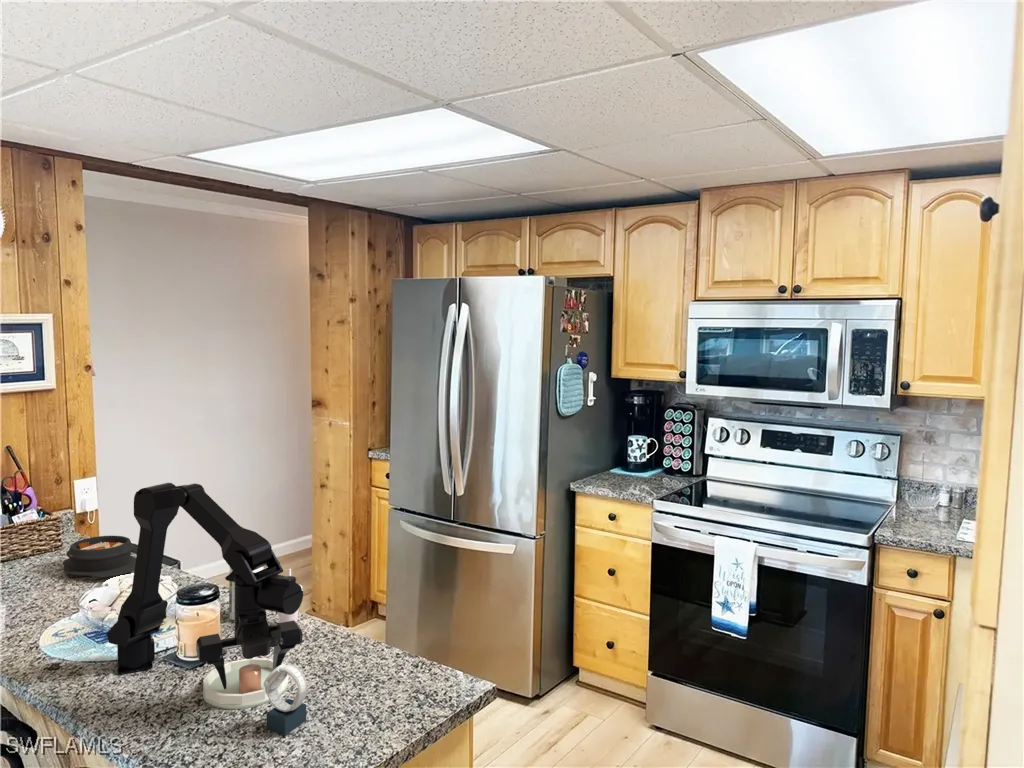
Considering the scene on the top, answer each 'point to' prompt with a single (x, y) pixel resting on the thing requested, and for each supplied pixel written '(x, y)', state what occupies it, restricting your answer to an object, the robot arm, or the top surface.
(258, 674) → the bead
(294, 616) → the smoothie
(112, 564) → the casserole
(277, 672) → the watch
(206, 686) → the groove tray
